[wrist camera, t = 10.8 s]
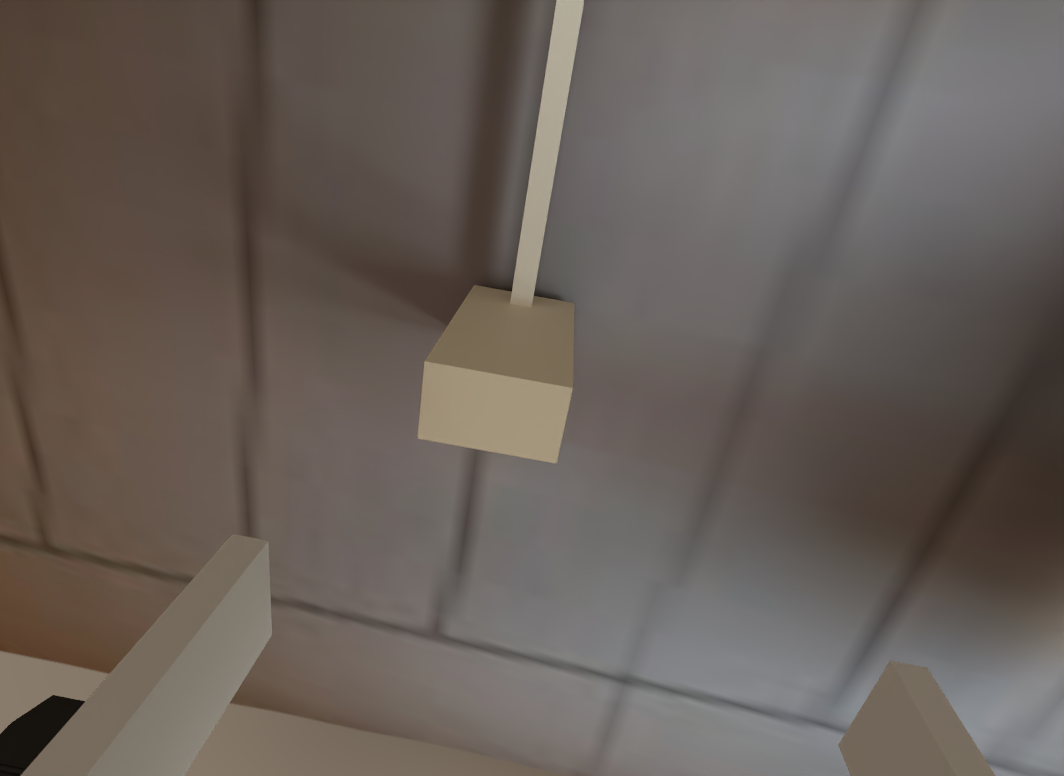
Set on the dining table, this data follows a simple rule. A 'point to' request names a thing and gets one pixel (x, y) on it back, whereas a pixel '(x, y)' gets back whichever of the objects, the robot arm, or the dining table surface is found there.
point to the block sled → (513, 316)
